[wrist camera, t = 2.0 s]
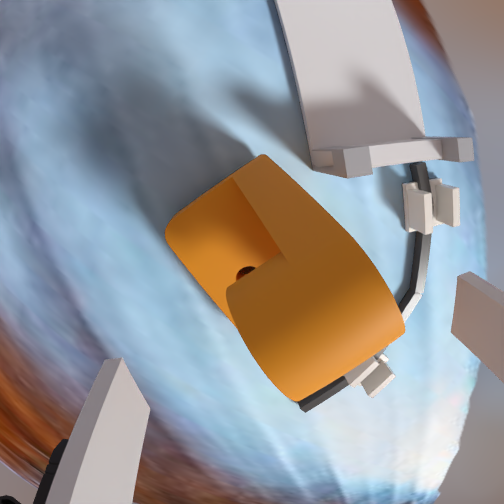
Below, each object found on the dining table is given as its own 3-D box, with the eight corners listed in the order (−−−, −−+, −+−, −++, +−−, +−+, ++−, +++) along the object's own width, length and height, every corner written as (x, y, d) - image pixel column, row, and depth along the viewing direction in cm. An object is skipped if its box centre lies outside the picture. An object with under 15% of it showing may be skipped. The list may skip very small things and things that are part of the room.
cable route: (295, 405, 25) (301, 425, 23) (411, 157, 19) (432, 159, 17) (351, 409, 27) (359, 427, 24) (463, 191, 21) (484, 196, 18)
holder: (313, 170, 19) (347, 178, 14) (260, -42, 14) (273, -86, 8) (423, 155, 19) (474, 160, 14) (371, -36, 14) (404, -67, 9)
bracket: (165, 220, 19) (100, 312, 8) (259, 154, 19) (321, 157, 7) (257, 335, 23) (288, 472, 11) (339, 282, 22) (429, 390, 11)
